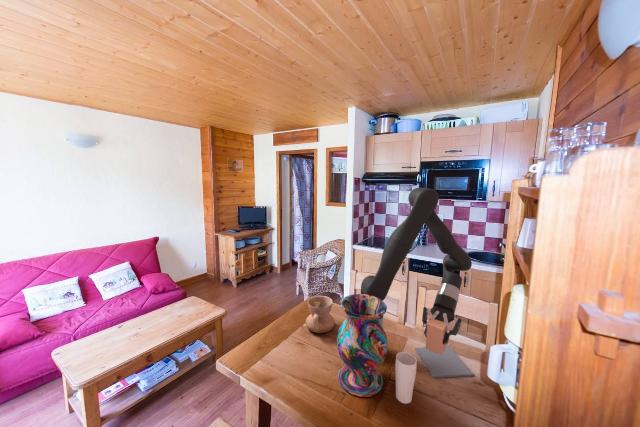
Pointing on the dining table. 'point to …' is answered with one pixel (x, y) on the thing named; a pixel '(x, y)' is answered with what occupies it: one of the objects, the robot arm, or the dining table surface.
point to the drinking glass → (405, 376)
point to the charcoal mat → (444, 363)
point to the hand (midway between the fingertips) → (435, 340)
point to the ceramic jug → (320, 315)
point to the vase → (362, 344)
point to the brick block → (435, 336)
